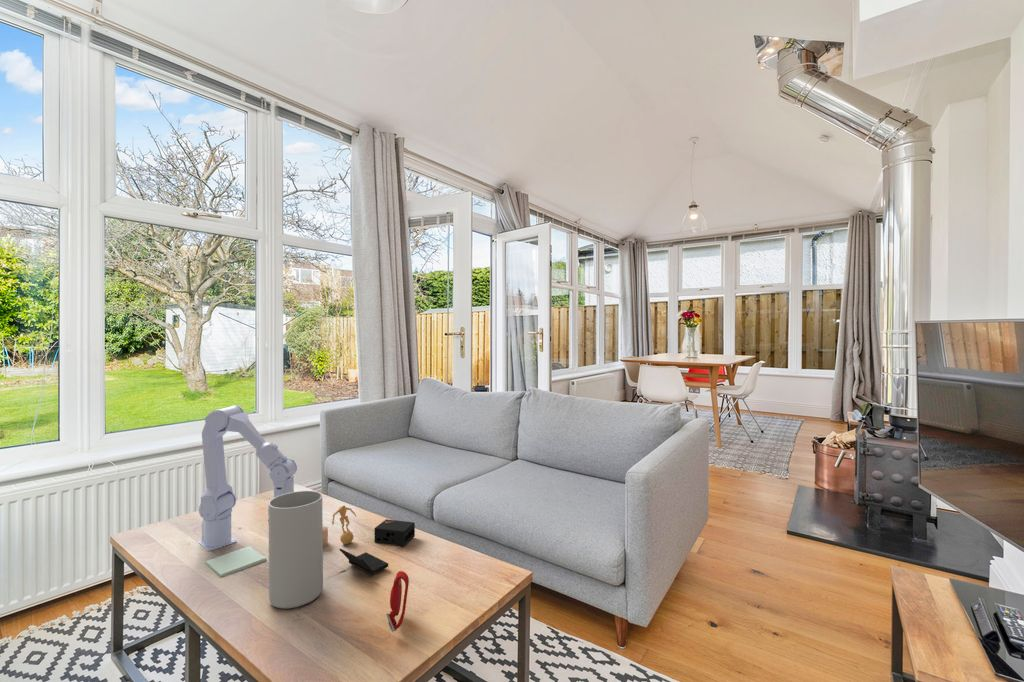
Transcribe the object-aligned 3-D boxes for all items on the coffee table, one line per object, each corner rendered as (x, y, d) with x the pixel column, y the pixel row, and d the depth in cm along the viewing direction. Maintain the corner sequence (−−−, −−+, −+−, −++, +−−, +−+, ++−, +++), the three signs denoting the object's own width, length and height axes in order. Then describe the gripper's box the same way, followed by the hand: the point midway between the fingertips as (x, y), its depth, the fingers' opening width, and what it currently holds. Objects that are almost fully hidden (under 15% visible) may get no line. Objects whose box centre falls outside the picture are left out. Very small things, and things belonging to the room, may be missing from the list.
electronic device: (404, 547, 141) (404, 531, 141) (374, 543, 144) (374, 528, 144) (414, 536, 149) (414, 522, 149) (386, 533, 151) (386, 518, 151)
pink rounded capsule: (308, 546, 142) (307, 530, 142) (323, 540, 146) (322, 525, 146) (316, 550, 139) (315, 534, 139) (331, 544, 143) (330, 529, 143)
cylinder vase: (287, 616, 106) (286, 512, 106) (259, 600, 113) (258, 502, 112) (333, 590, 117) (332, 496, 116) (304, 577, 123) (304, 487, 123)
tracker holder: (393, 605, 110) (393, 565, 110) (411, 604, 111) (411, 564, 111) (383, 637, 98) (383, 593, 98) (404, 636, 99) (403, 591, 99)
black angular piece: (393, 557, 130) (375, 538, 125) (380, 582, 125) (361, 563, 120) (364, 553, 135) (346, 535, 130) (351, 577, 130) (332, 558, 125)
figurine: (338, 550, 139) (337, 512, 139) (328, 544, 143) (328, 507, 143) (361, 540, 145) (361, 504, 145) (351, 535, 149) (351, 500, 149)
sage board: (205, 564, 130) (205, 561, 130) (249, 549, 140) (249, 546, 140) (220, 578, 123) (220, 574, 123) (266, 560, 132) (266, 557, 132)
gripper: (258, 498, 143) (258, 540, 143) (285, 507, 135) (285, 551, 135) (279, 491, 149) (280, 532, 149) (306, 499, 141) (306, 542, 141)
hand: (284, 540), depth 142 cm, fingers closed on walnut block, 4 cm apart
